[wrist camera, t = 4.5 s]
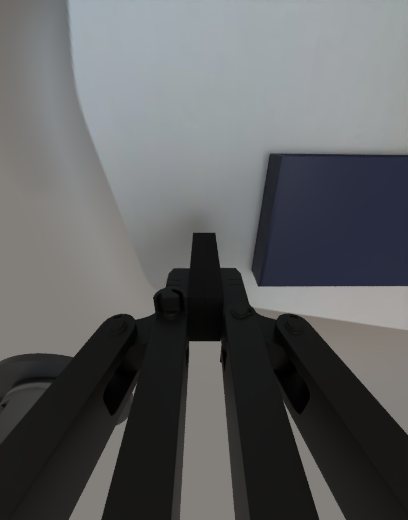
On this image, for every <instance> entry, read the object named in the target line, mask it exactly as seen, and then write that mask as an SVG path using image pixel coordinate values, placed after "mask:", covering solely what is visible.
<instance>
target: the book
mask: <svg viewBox="0 0 408 520" xmlns="http://www.w3.org/2000/svg"><path fill="white" fill-rule="evenodd" d="M252 272H253V275H254V277H255V280H256V282H257V285H258V286H408V155H346V154H270V157H269V164H268V170H267V176H266V183H265V189H264V195H263V202H262V208H261V214H260V221H259V227H258V233H257V240H256V246H255V253H254V259H253V265H252Z"/></svg>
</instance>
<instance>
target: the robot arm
mask: <svg viewBox="0 0 408 520" xmlns="http://www.w3.org/2000/svg"><path fill="white" fill-rule="evenodd" d="M153 299H154V305H155V313H154V314H152V315H151V316H148V317H145V318H141V319H137V320H135V319H134V318H133V317H132V316H131V315H128V314H119V315H114V316H112V317H111V318H108V319H107V320H106V321H105V322H104V323H103V324H102V325H101V326H100V327H99V328H98V329H97V331H96V332H95V333H94V334H93V335H92V336H91V338H90V339H89V340H88V341H87V342H86V343H85V345H84V346H83V347H82V348H81V350H80V351H79V352H78V353H77V354H76V355H75V356H74V358H73V359H72V360H71V361H70V362H69V364H68V365H67V366H66V367H65V368H64V369H63V371H62V372H61V373H60V374H59V375H58V377H57V378H56V377H34V378H28V379H24V380H21V381H19V382H17V383H16V384H14V385H13V386H12V387H11V389H10V390H9V391H8V393H7V394H6V395H5V397H4V398H3V400H2V402H1V404H0V520H69V517H70V516H71V514H72V512H73V510H74V508H75V506H76V503H77V502H78V500H79V497H80V496H81V494H82V492H83V490H84V488H85V486H86V484H87V482H88V480H89V478H90V476H91V474H92V472H93V470H94V468H95V466H96V464H97V461H98V460H99V458H100V456H101V454H102V452H103V450H104V448H105V446H106V444H107V442H108V440H109V438H110V436H111V434H112V432H113V430H114V428H115V426H116V424H117V422H118V420H119V418H120V416H121V414H122V412H123V410H124V408H125V406H126V404H127V402H128V400H129V398H130V396H131V394H132V392H133V390H134V387H135V386H136V389H135V393H134V397H133V401H132V405H131V408H130V412H129V416H128V420H127V424H126V427H125V431H124V435H123V439H122V443H121V447H120V450H119V454H118V458H117V462H116V466H115V470H114V474H113V477H112V481H111V485H110V489H109V492H108V497H107V500H106V504H105V508H104V512H103V516H102V519H101V520H180V503H181V502H180V501H181V486H182V468H183V450H184V433H185V414H186V397H187V379H188V363H189V341H221V343H222V346H221V357H220V362H222V370H223V382H224V394H225V404H226V417H227V429H228V441H229V452H230V464H231V474H232V488H233V499H234V511H235V520H319V517H318V514H317V511H316V507H315V504H314V501H313V497H312V494H311V491H310V488H309V484H308V481H307V478H306V475H305V472H304V468H303V465H302V461H301V458H300V455H299V452H298V448H297V445H296V442H295V439H294V435H293V432H292V429H291V426H290V423H289V419H288V416H287V412H286V409H285V406H284V403H285V405H286V407H287V409H288V410H289V412H290V414H291V416H292V418H293V420H294V422H295V424H296V425H297V428H298V429H299V431H300V433H301V435H302V437H303V439H304V441H305V443H306V445H307V447H308V448H309V450H310V452H311V454H312V456H313V458H314V460H315V462H316V464H317V465H318V467H319V469H320V471H321V473H322V475H323V477H324V479H325V481H326V482H327V484H328V486H329V488H330V490H331V492H332V494H333V496H334V498H335V500H336V501H337V503H338V505H339V507H340V509H341V511H342V513H343V515H344V517H345V519H346V520H408V435H407V434H406V433H405V432H404V430H403V429H402V428H401V427H400V426H399V425H398V424H397V422H396V421H395V420H394V419H393V418H392V417H391V416H390V414H389V413H388V412H387V411H386V410H385V409H384V408H383V407H382V405H381V404H380V403H379V402H378V401H377V400H376V399H375V397H374V396H373V395H372V394H371V393H370V392H369V391H368V390H367V388H366V387H365V386H364V385H363V384H362V383H361V382H360V380H359V379H358V378H357V377H356V376H355V375H354V374H353V373H352V372H351V370H350V369H349V368H348V367H347V366H346V365H345V363H344V362H343V361H342V360H341V359H340V358H339V357H338V356H337V354H336V353H335V352H334V351H333V350H332V349H331V348H330V346H329V345H328V344H327V343H326V342H325V341H324V340H323V339H322V337H321V336H320V335H319V334H318V333H317V332H316V331H315V330H314V328H313V327H312V326H311V325H310V324H309V323H308V322H307V321H306V320H305V319H303V318H302V317H300V316H298V315H294V314H283V315H280V316H279V317H278V318H277V320H275V319H271V318H267V317H264V316H261V315H259V314H257V313H256V312H255V310H254V308H253V307H251V306H250V304H249V301H248V298H247V294H246V291H245V287H244V284H243V281H242V277H241V273H240V272H239V271H238V270H237V269H236V268H220V264H219V257H218V250H217V242H216V235H215V233H193V241H192V252H191V263H190V269H189V268H174V269H173V270H172V271H171V272H170V273H169V275H168V279H167V283H166V287H165V288H164V289H161V290H159V291H158V292H157V293H156V294H155V295H154V297H153ZM136 384H137V385H136ZM283 401H284V402H283Z"/></svg>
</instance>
